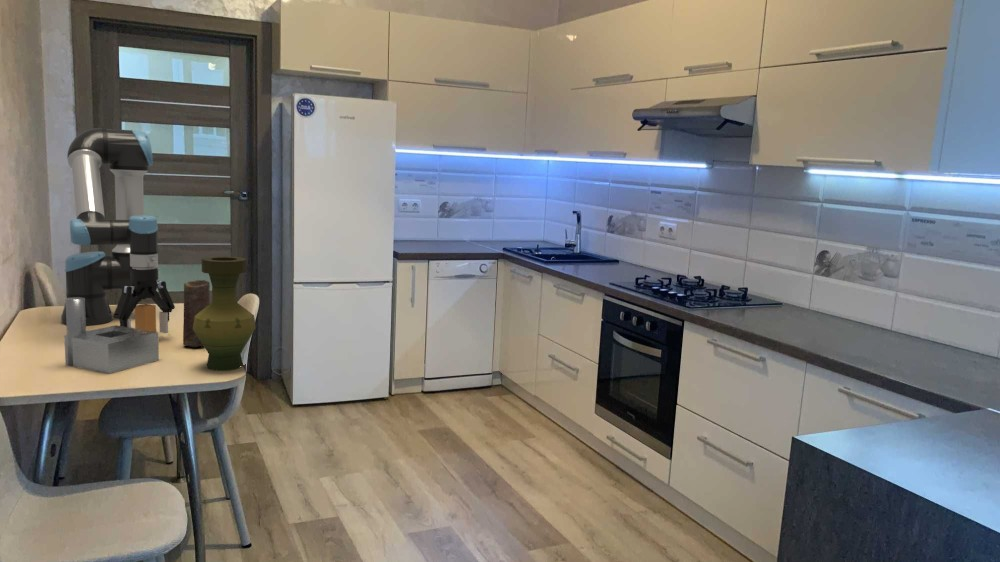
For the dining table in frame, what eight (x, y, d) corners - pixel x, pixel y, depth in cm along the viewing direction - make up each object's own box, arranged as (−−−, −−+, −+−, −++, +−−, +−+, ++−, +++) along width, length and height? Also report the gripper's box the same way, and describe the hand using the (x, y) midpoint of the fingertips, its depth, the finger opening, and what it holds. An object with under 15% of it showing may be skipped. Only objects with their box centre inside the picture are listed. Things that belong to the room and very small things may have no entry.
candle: (215, 345, 220) (214, 281, 217) (198, 350, 213) (197, 284, 210) (195, 342, 222) (194, 278, 219) (177, 347, 216) (176, 281, 213)
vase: (267, 362, 205) (267, 258, 200) (234, 376, 189) (233, 264, 185) (216, 356, 208) (215, 253, 204) (180, 370, 193) (178, 259, 188)
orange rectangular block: (135, 344, 216) (134, 305, 214) (146, 342, 220) (145, 303, 218) (145, 346, 215) (144, 307, 213) (156, 343, 218) (155, 305, 217)
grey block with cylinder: (64, 364, 192) (61, 299, 189) (116, 352, 207) (114, 290, 204) (108, 373, 186) (106, 306, 183) (158, 360, 201) (157, 297, 198)
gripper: (117, 273, 201) (119, 346, 204) (186, 264, 224) (187, 330, 227) (98, 270, 204) (100, 343, 207) (168, 262, 227) (169, 327, 230)
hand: (145, 337), depth 217 cm, fingers open, 13 cm apart
